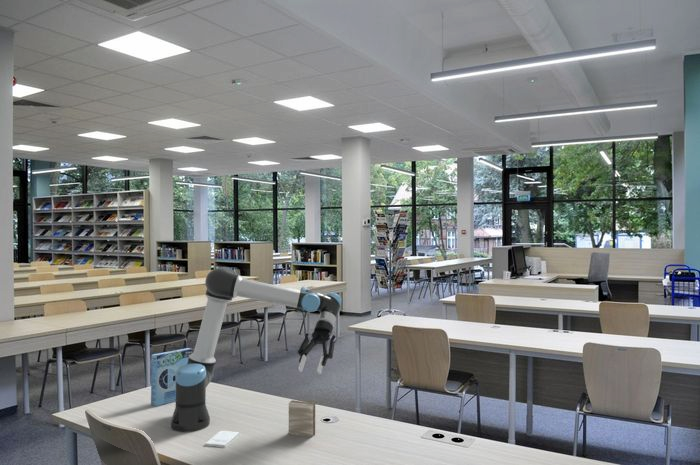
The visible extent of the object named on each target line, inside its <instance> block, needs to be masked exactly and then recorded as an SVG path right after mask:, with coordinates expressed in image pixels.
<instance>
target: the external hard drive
mask: <svg viewBox="0 0 700 465" xmlns="http://www.w3.org/2000/svg"><path fill="white" fill-rule="evenodd" d="M238 436H240V432H239V431H230V430H219V431H218V432H217V433H215V434H214V435H213V436H212V437H211V438H209V439H208V440H207V441H206V442H205V443H204V444H203V446H204V447H216V448H223V449H224V448H225V449H226V448H227V446H228V445H229V444H231V443H232V442H233V441H234V440H236V438H238Z"/></svg>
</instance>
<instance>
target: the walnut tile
mask: <svg viewBox="0 0 700 465" xmlns="http://www.w3.org/2000/svg"><path fill="white" fill-rule="evenodd" d="M288 435H293V436H294V435H295V436H303V437H309V438H313V437H314V436H315V435H316V402H308V401H301V400H300V401H299V400H293V399H292V400H290V401H289V402H288Z"/></svg>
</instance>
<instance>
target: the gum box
mask: <svg viewBox="0 0 700 465" xmlns="http://www.w3.org/2000/svg"><path fill="white" fill-rule="evenodd" d="M192 353H194V349H193V348H190V347H187V348H181V349H176V350H169V351H165V352H158V353H154V354H151V366H150V367H151V368H150V369H151V372H150V373H151V377H150V378H151V380H150V384H151V385H150V405H151V406H153V407H159V406H163V405H166V404H169V403H174V402H176V380H175V379H176V378H175V376H176V371H177V369H178V368H179V367H181V366H185V365H186V364H187V362H188V358H189V355H191V354H192Z"/></svg>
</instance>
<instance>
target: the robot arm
mask: <svg viewBox="0 0 700 465" xmlns="http://www.w3.org/2000/svg"><path fill="white" fill-rule="evenodd" d="M204 285H205V286H206V290H205V297H206V299H207V302H206V305H205V310H204V312H203V316H202V320H201V324H200V326H199V331H198V335H197V338H196V339H197V340H196V343H195V347H194V349H193V353H192V354H191V355H189V358H188V362H187V364H186V365H185V366H181V367H179V368H178V369H177V371H176V376H175V378H176V379H175V380H176V401H175V407H174V411H173V414H172V417H171V420H170V429H172V430H173V431H175V432H194V431H198V430H202V429H205V428H207V427H209V425H210V423H211V421H210V420H211V417H210V413H209V411H208V408H207V405H206V403H207V402H206V400H207V399H206V393H207V392H206V391H207V389H206V388H207V387H208V385H209V384H210V383H211V382H212V380H213V379H214V376H215V367H216V362H217V360H216V358H215V353H216V349H217V344H218V341H219V337H220V333H221V328H222V325H223V322H224V321H223V320H224V319H225V318H224V317H225V314H226V309H227V305H228V304H229V303H230V302H231V301H232V300H233V299H234V298H237V297H239V298H246V299H250V300H256V301H259V302H260V301H261V302H265V303H270V304H275V305H281V306H286V307H291V308H295V309H299V310H300V309H301V310H303V311H305V312H308V313H312V312H313V313H314V312H316V311H318V312H319V316H318V317H317V320H316V324H315V326H314V329H313V332H312V333H305V335H304V336H305V337H304V339H303V341H302V343H301V344H300V346H299V349H298V350H297V354H298V356H299V360H298V362H299V364H298V371H299V372H300V373H302V372H303V369H304V367H305V365H306V364H305V363H306V361H307V355H308V354H309V353H310V352H311V351H312V349H314V347H316V346H317V345H321V346H322V355H321V356H320V359H319V362H318V366H317V369H316V371H317V373H318V375H321V374H322V371H323V368H324V367H325V366H326V364H327V362H328V359H333V356H334V350H335V343H336V341H337V338H336V336H335V334H333V335H332V333H333V330H334V326H335V323H336V320H337V317H338V314H339V312H340V309H341V304H342V301H343V300H342V297H341V296H340V295H339V294H338V293H336V292H328V293H327V294H326V295H325V294H323V293H320V292H318V291H316V290H313V289H311V288H310V287H306V286H302V287H301V288H300V289H296V288H290V287H285V286H281V285H276V284H270V283H266V282H261V281H257V280H252V279H247V278H243V277H241V275H240V274H237V273H236V271H234V269H232V268H231V267H228V266H220V267H217V268H214V269H212V270H210V272H208V273H207V275H206V278H205V284H204ZM328 341H329V345H328V344H327V342H328ZM328 346H329V347H328Z"/></svg>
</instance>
